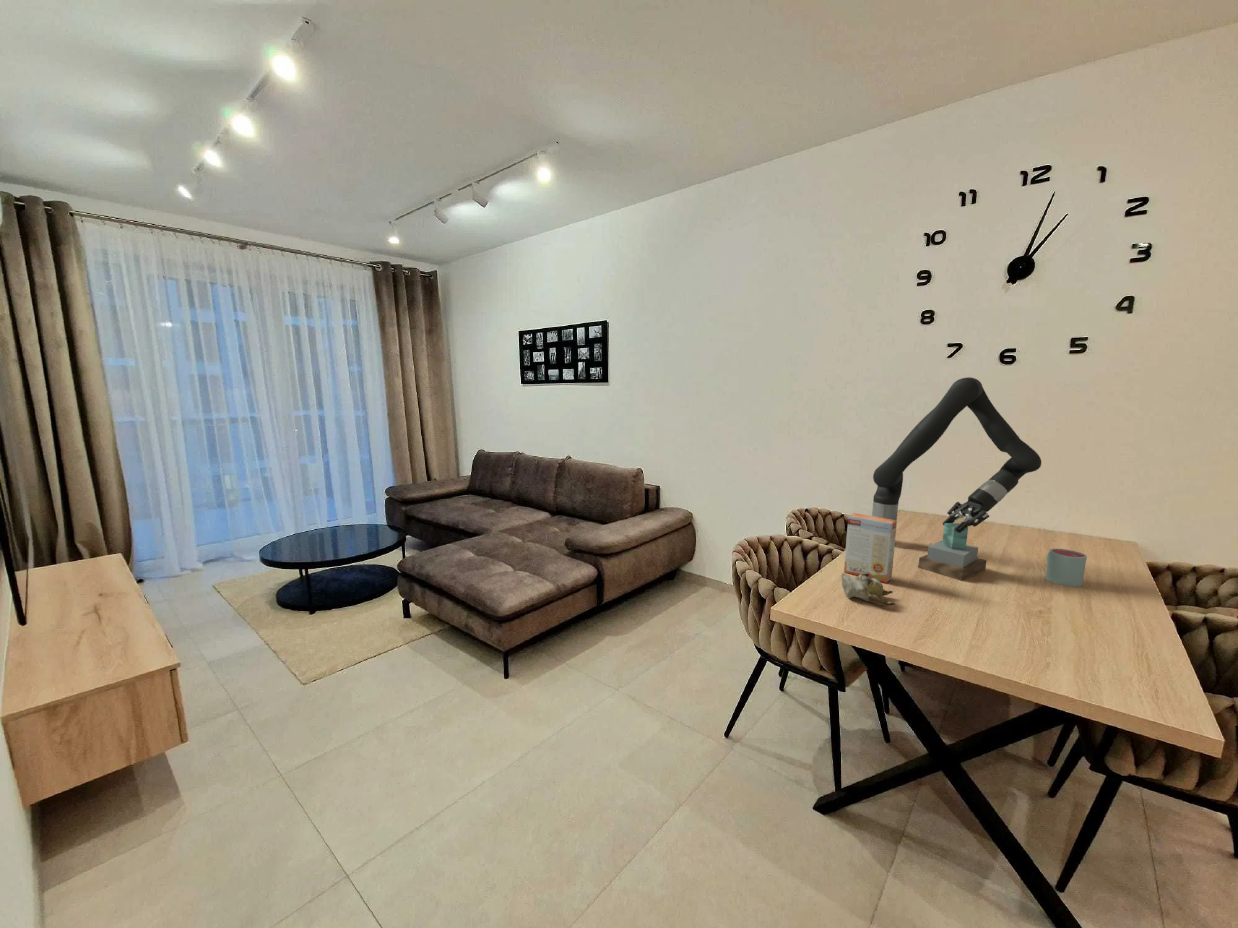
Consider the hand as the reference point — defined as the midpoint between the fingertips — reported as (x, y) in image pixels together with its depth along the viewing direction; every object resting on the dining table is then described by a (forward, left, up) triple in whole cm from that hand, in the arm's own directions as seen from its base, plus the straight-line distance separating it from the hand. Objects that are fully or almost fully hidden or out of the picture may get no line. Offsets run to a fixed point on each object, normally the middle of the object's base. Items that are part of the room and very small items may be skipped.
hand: (950, 528), depth 173 cm
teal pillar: (+1, +2, -7) cm, 7 cm away
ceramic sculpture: (0, -49, -16) cm, 51 cm away
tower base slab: (+1, +2, -16) cm, 16 cm away
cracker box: (-11, -30, -15) cm, 36 cm away
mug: (+25, +24, -15) cm, 38 cm away
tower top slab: (+1, +1, -11) cm, 11 cm away
